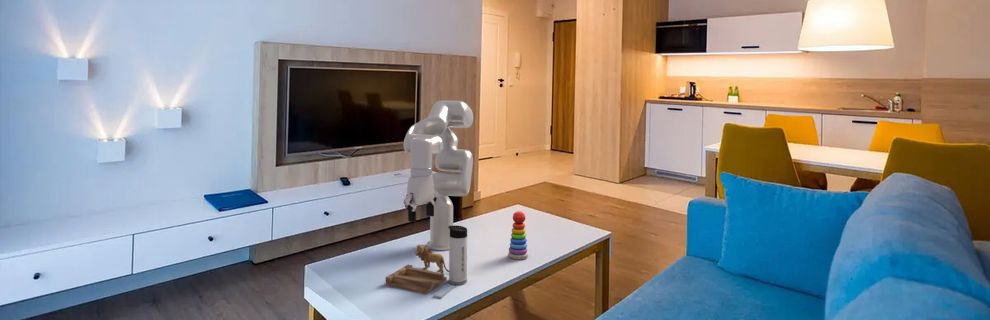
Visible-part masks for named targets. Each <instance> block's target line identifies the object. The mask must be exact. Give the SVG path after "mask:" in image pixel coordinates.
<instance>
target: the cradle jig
mask: <svg viewBox="0 0 990 320" xmlns="http://www.w3.org/2000/svg"><path fill="white" fill-rule="evenodd" d="M445 281H447V276H445V272H444V273H440V272H438V271H433V270H428V269H426V270H424V269H423V268H418V267H417V268H416V267H413V265H412V264H407V265H405V266H403V267H401V268H400V269H398V270H396V271H394V272H393V273H391V274H389V275H387V276H386V277H385V286H387V287H390V288H396V289H400V290H405V291H410V292H414V293H418V294H423V295H427V294H428V293H430V292H431V291H432V290H434V289H436V288H437V287H439V286H440V285H442V284H443V283H444V282H445Z"/></svg>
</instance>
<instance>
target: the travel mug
mask: <svg viewBox="0 0 990 320" xmlns="http://www.w3.org/2000/svg"><path fill="white" fill-rule="evenodd" d="M449 228H450V236H449V237H450V238H449V250H448V252H449V257H448V261H449V262H448V263H449V264H448V270H449V272H448V277H449V278H448V282H449V283H450V285H454V286H456V285H458V286H461V285H464V284H466V283H467V281H468V278H467V277H468V229H467V227H465V226H463V225H453V226H449ZM449 228H448V229H449Z"/></svg>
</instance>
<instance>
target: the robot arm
mask: <svg viewBox="0 0 990 320" xmlns="http://www.w3.org/2000/svg"><path fill="white" fill-rule="evenodd" d="M473 123H474V113H473V111H472V109H471V107H470V106H469V105H468V104H467V103H466V102H464V101H462V100H443V99H442V100H438V101H436V102H434V104H433V106H432V107H431V109H430V112H429V113H428V116H427V117H426V118H424V119H422V120H420V121H418V122H416V123H414V124H413V125H411V126H410V127H409V129H407V132H406V134H405V137H404V140H403V150H404V151H405V153H406V154H409V155H410V176H409V177H408V181H407V188H406V189H407V190H406V197H405V198H404V200H403V204H404V207H405V209H406V211H408V212H407V214H408V215H407V216H408V217H407V221H408V222H411V223H417V211H416V209H417V206H420V205H424V204H426V216H429V217H430V219H429V225H430V226H429V228H430V229H429V230H430V231H429V236H430V237H429V239H430V240H428V241H427V242H426V247H427V248H429V249H430V250H433V251H449V238H450V237H449V236H450V228H449V226H454V205H453V202H452V200H451V199H450V197H465V196H467V195H469V193H470V190H471V185H472V184H471V182H472V175H473V166H474V160H473V158H474V157H473V154H472V152H471V151H470V150H468V149H459V148H458V145H459V144H458V143H459V139H458V137H457V135H456V134H455V132H454V131H453V130H452V129H453V128H457V129H468V128H471V127H472V125H473ZM451 128H452V129H451ZM433 156H435V159H434V161H435V162H434V165H435V168H436V169H437V170H438V172H433V158H432V157H433ZM441 171H442V172H441ZM449 196H450V197H449ZM448 228H449V229H448Z"/></svg>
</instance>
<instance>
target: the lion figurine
mask: <svg viewBox="0 0 990 320" xmlns="http://www.w3.org/2000/svg"><path fill="white" fill-rule="evenodd" d="M414 254H415V256H416V257H418V258H419V259H420V260H421V261H423V264H424V267H423V268H422V269H423V270H428V268H430V266H431V263H432V264H436V266H437V267H438V268H439V271H440V272H439V273H444V274H445V272H444V270H445V271H446V272H447V273H449V269H447V267H446V263H445V258H444V256H443V255H442V254H441V253H435V252H432V249H430V248H428V247H427V245H424V244H418V245H416V250H415V251H414Z"/></svg>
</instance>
